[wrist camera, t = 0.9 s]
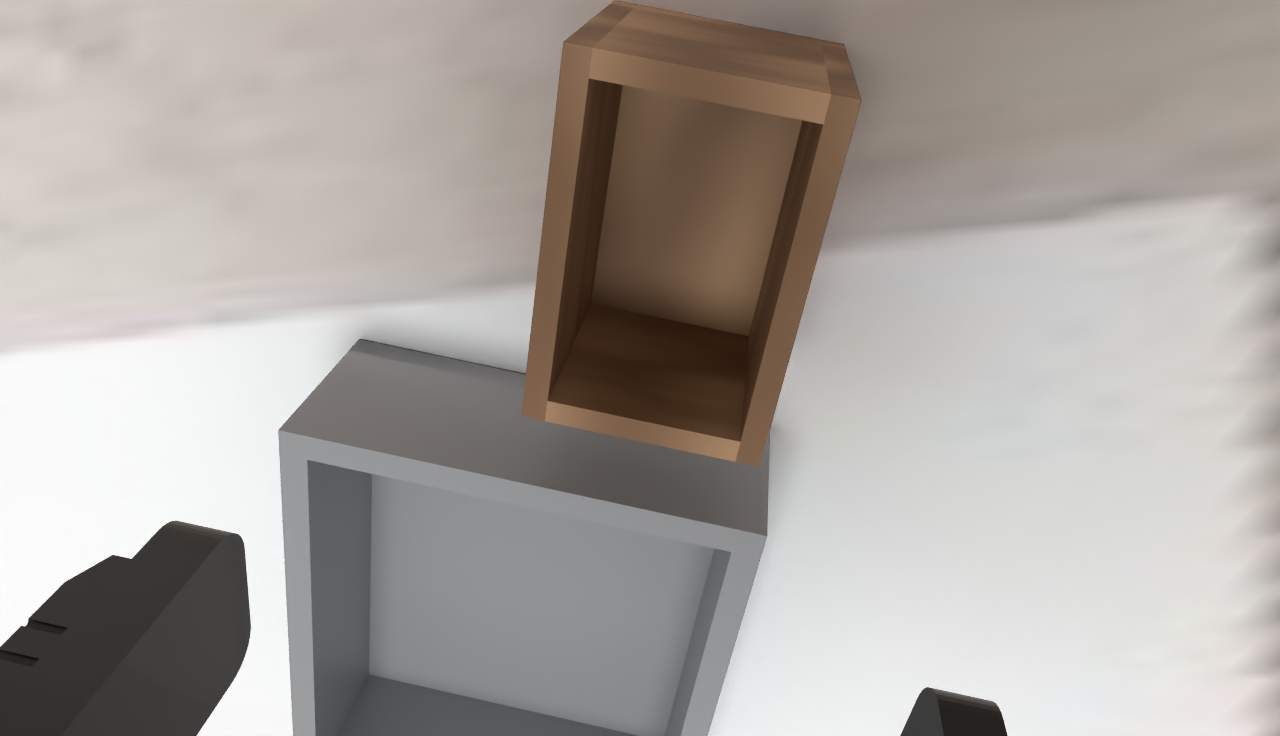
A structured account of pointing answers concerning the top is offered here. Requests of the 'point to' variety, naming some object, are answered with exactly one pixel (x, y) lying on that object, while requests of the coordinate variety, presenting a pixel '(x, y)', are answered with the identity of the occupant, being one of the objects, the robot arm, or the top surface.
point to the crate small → (683, 225)
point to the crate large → (502, 562)
